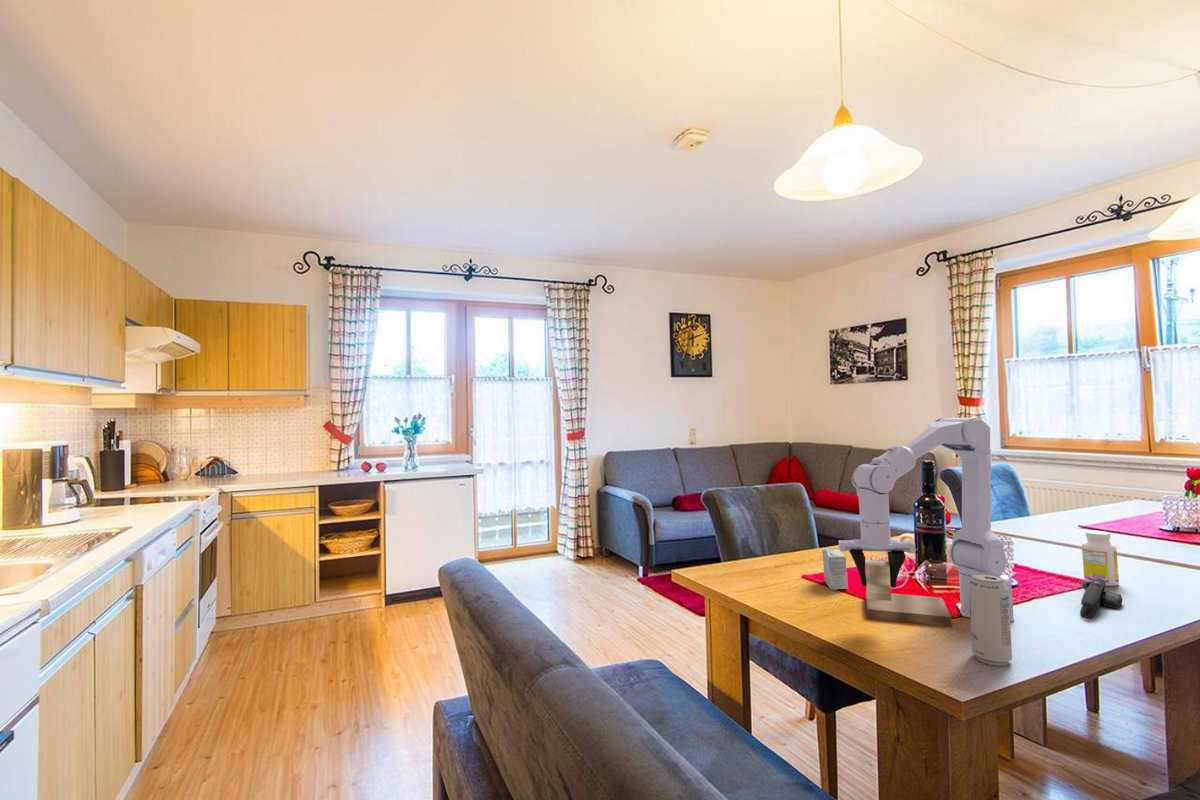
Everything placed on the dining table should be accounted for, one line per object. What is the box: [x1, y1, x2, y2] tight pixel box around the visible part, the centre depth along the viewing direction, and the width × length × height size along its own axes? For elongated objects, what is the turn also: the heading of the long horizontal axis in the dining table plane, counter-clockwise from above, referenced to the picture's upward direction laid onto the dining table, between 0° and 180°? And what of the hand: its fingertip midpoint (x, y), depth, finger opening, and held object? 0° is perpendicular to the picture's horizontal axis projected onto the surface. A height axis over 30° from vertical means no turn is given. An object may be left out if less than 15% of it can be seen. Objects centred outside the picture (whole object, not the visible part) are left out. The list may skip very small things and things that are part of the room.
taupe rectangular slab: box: [865, 590, 953, 627], centre depth 127 cm, size 16×13×2 cm
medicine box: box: [822, 549, 849, 591], centre depth 148 cm, size 8×4×9 cm, turn 168°
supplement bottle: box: [1081, 530, 1120, 587], centre depth 142 cm, size 7×7×13 cm
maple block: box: [865, 559, 892, 601], centre depth 118 cm, size 4×4×7 cm
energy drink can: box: [968, 574, 1013, 667], centre depth 102 cm, size 6×6×15 cm
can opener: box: [1079, 578, 1123, 619], centre depth 125 cm, size 18×7×6 cm, turn 127°
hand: (878, 585), depth 118 cm, fingers closed on maple block, 5 cm apart
